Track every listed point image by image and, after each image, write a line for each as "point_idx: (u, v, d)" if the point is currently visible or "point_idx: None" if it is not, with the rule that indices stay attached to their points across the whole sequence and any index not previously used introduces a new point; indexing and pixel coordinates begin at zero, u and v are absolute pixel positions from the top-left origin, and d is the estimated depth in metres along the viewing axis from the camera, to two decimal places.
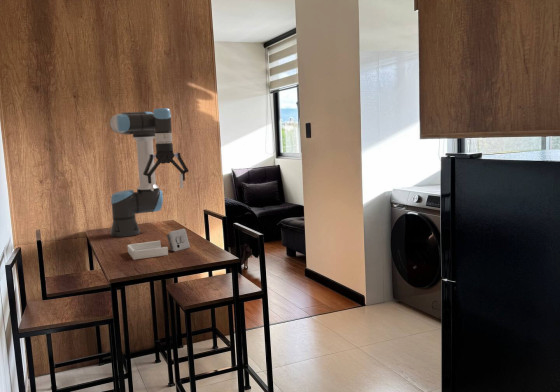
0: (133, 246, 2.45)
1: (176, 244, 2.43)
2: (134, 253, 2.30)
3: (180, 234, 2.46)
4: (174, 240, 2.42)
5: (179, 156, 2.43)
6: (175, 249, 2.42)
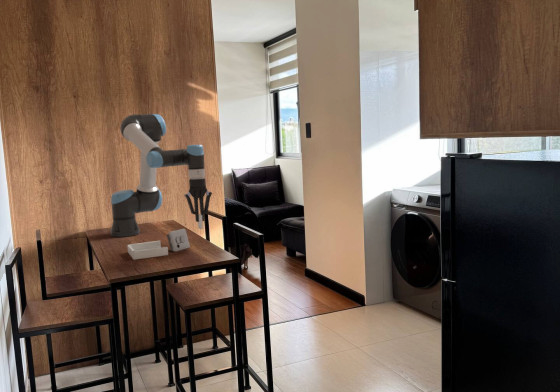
0: (133, 246, 2.45)
1: (176, 244, 2.43)
2: (134, 253, 2.30)
3: (180, 234, 2.46)
4: (174, 240, 2.42)
5: (209, 195, 2.48)
6: (175, 249, 2.42)
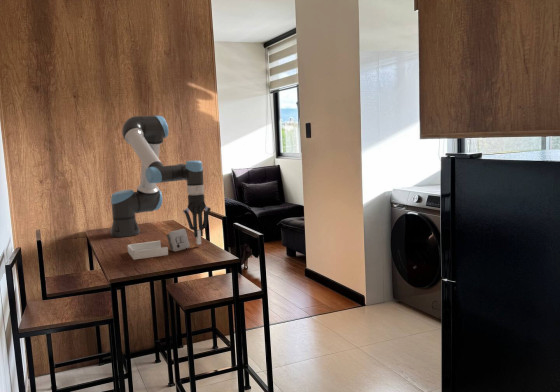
0: (133, 246, 2.45)
1: (176, 244, 2.43)
2: (134, 253, 2.30)
3: (180, 234, 2.46)
4: (174, 240, 2.42)
5: (208, 211, 2.49)
6: (175, 249, 2.42)
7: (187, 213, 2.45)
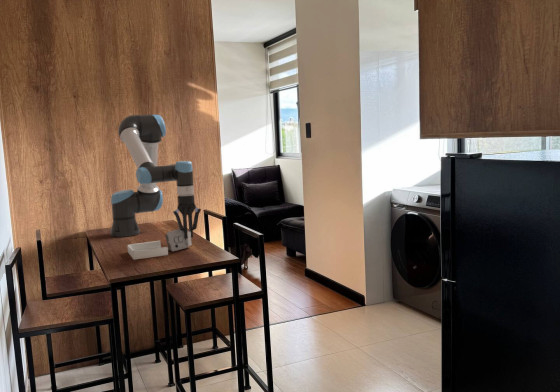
0: (133, 246, 2.45)
1: (174, 244, 2.43)
2: (134, 253, 2.30)
3: (178, 234, 2.46)
4: (172, 240, 2.42)
5: (198, 212, 2.47)
6: (173, 249, 2.42)
7: (177, 214, 2.43)
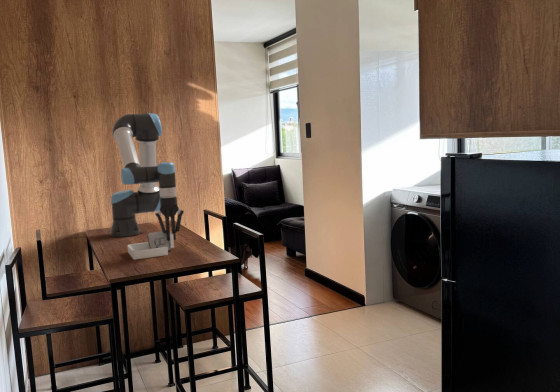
0: (133, 246, 2.45)
1: (154, 246, 2.40)
2: (134, 253, 2.30)
3: (160, 236, 2.43)
4: (153, 242, 2.40)
5: (181, 214, 2.44)
6: None
7: (159, 216, 2.40)
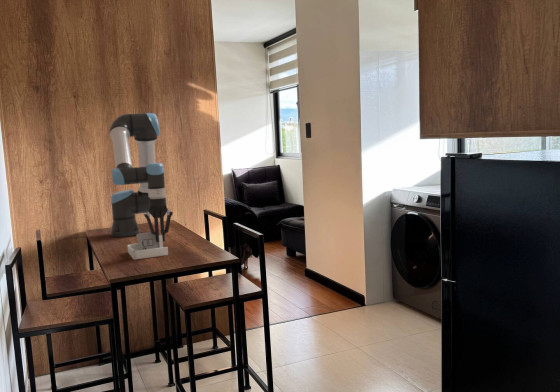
0: (133, 246, 2.45)
1: (142, 247, 2.40)
2: (134, 253, 2.30)
3: (149, 237, 2.42)
4: (140, 242, 2.40)
5: (170, 215, 2.42)
6: None
7: (148, 217, 2.38)
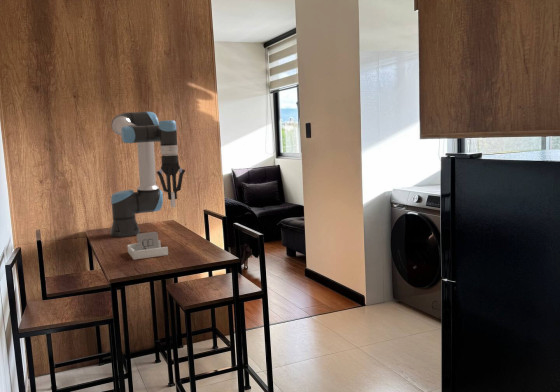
0: (133, 246, 2.45)
1: (142, 247, 2.40)
2: (134, 253, 2.30)
3: (149, 237, 2.42)
4: (140, 243, 2.40)
5: (182, 172, 2.42)
6: None
7: (160, 174, 2.38)
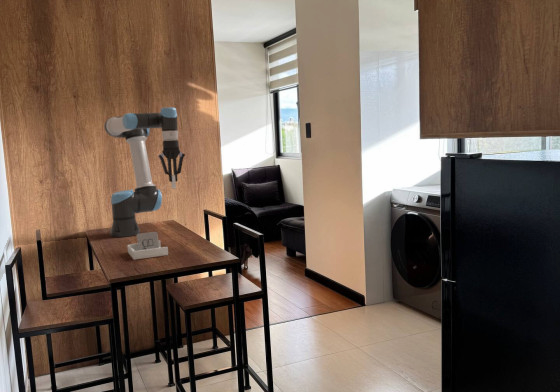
0: (133, 246, 2.45)
1: (142, 247, 2.40)
2: (134, 253, 2.30)
3: (149, 237, 2.42)
4: (140, 243, 2.40)
5: (182, 156, 2.60)
6: None
7: (162, 158, 2.55)
